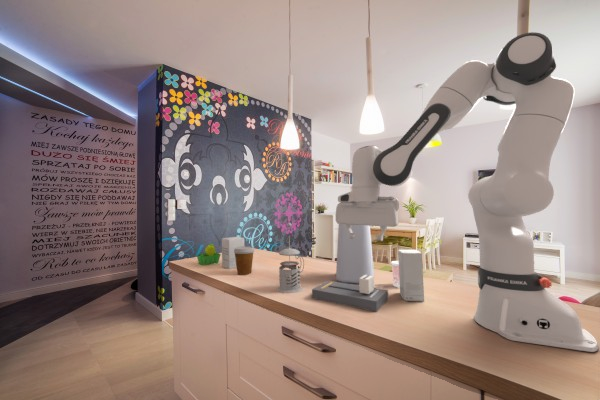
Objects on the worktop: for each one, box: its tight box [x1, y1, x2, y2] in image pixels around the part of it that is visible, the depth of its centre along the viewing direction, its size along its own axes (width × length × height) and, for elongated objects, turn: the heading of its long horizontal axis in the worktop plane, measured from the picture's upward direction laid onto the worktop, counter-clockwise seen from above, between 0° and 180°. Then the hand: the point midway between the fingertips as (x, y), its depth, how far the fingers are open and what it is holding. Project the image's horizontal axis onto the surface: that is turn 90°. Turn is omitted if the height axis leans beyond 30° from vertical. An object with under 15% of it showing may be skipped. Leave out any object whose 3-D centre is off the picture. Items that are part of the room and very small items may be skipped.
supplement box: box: [221, 236, 245, 270], centre depth 138 cm, size 9×9×15 cm
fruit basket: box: [196, 243, 222, 266], centre depth 146 cm, size 11×9×11 cm
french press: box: [276, 222, 305, 294], centre depth 101 cm, size 10×12×25 cm
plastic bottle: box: [335, 224, 375, 285], centre depth 112 cm, size 15×15×28 cm
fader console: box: [311, 280, 389, 313], centre depth 89 cm, size 22×12×3 cm, turn 57°
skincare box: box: [397, 249, 425, 302], centre depth 89 cm, size 8×7×16 cm
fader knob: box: [358, 275, 375, 294], centre depth 85 cm, size 3×5×5 cm, turn 147°
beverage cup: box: [390, 248, 401, 289], centre depth 102 cm, size 6×6×14 cm
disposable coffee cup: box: [234, 245, 255, 276], centre depth 124 cm, size 10×10×12 cm
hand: (365, 239), depth 86 cm, fingers open, 8 cm apart
